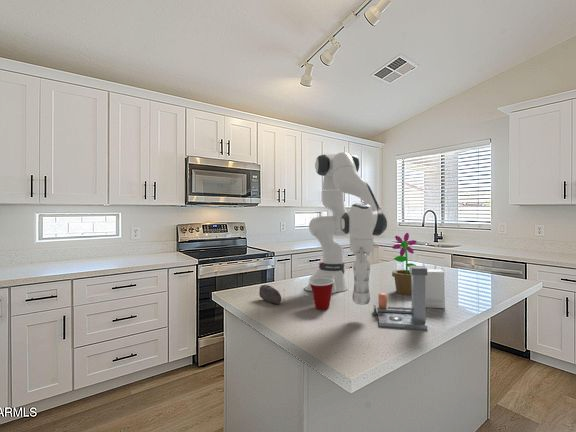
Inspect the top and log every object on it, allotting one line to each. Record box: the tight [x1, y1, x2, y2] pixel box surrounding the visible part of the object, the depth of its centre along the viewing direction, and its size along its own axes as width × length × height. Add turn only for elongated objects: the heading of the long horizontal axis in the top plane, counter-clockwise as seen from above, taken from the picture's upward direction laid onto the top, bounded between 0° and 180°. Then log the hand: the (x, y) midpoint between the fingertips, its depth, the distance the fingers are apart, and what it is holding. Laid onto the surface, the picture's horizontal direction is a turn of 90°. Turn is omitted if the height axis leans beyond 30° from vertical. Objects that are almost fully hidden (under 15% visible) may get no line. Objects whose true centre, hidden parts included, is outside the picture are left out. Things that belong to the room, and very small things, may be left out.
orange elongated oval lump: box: [376, 292, 388, 310], centre depth 122 cm, size 4×3×7 cm
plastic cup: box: [308, 278, 334, 311], centre depth 131 cm, size 11×11×12 cm
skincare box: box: [425, 268, 446, 309], centre depth 132 cm, size 8×7×16 cm
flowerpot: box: [391, 232, 418, 296], centre depth 154 cm, size 14×14×30 cm
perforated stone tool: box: [258, 284, 282, 305], centre depth 141 cm, size 15×5×7 cm, turn 35°
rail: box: [373, 304, 412, 317], centre depth 121 cm, size 19×5×3 cm, turn 76°
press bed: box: [377, 265, 428, 331], centre depth 113 cm, size 17×11×21 cm, turn 76°
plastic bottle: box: [351, 260, 371, 306], centre depth 117 cm, size 6×7×20 cm
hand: (361, 281), depth 117 cm, fingers closed on plastic bottle, 6 cm apart
